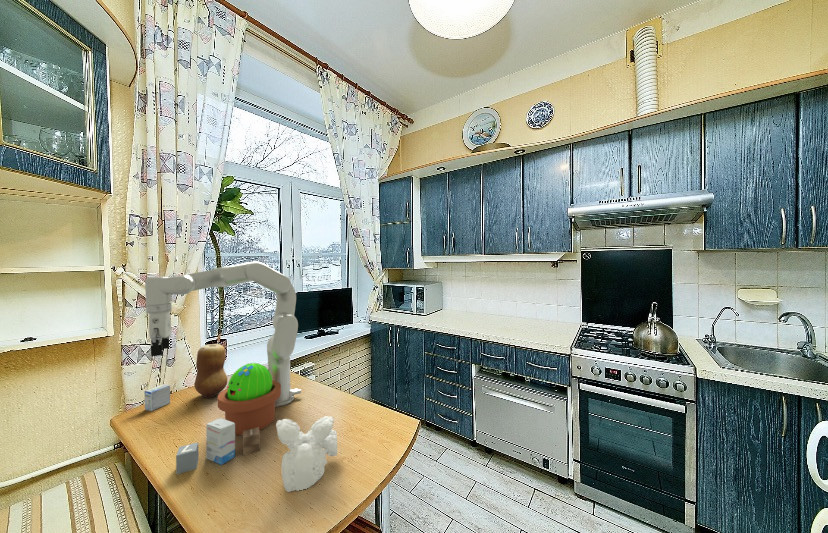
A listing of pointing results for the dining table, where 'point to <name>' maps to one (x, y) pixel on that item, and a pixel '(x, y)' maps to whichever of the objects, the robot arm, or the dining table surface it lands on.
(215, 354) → the butternut squash
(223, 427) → the ink box
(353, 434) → the dining table surface
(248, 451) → the walnut block
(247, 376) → the potted cactus
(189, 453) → the slate block
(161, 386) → the medicine box
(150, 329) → the robot arm
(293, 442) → the cauliflower
